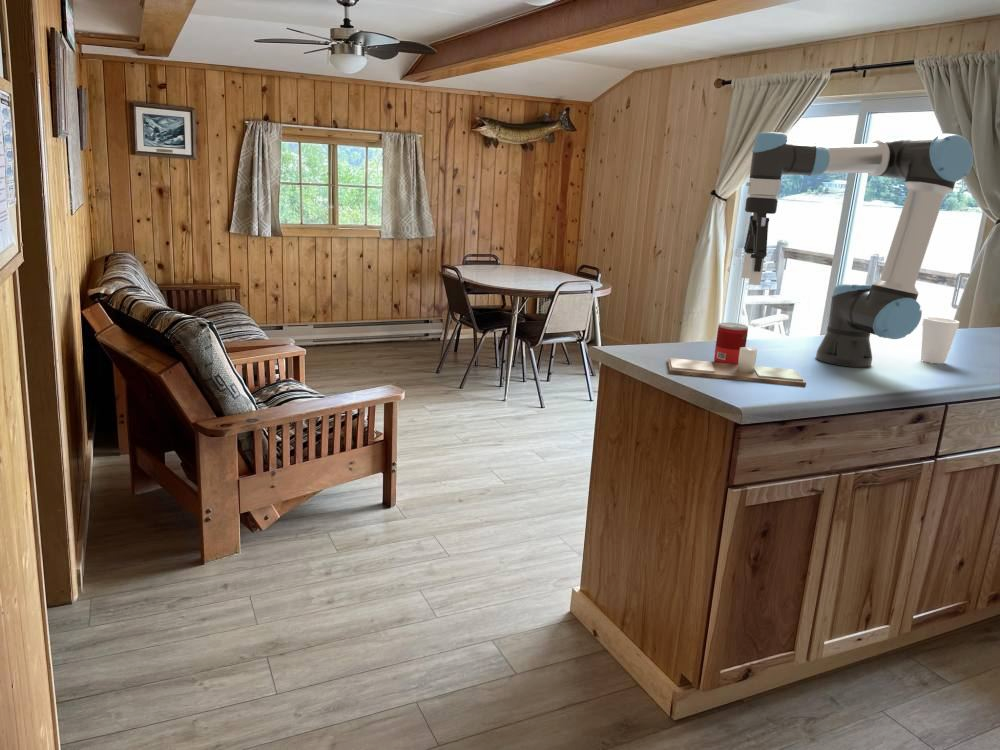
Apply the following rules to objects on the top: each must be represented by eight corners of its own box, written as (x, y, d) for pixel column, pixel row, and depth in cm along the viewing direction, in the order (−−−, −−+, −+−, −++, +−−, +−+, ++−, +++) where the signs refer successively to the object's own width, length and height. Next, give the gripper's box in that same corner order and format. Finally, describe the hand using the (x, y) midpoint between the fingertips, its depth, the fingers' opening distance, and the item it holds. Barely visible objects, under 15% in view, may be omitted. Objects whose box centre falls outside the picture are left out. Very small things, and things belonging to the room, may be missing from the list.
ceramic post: (752, 369, 200) (756, 347, 198) (755, 373, 196) (758, 351, 194) (735, 368, 201) (739, 346, 199) (738, 372, 196) (741, 349, 195)
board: (794, 373, 203) (795, 368, 203) (805, 386, 190) (806, 381, 189) (667, 361, 208) (668, 356, 208) (669, 373, 195) (670, 368, 195)
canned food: (744, 367, 206) (749, 328, 203) (714, 364, 207) (719, 326, 205) (741, 361, 213) (746, 324, 210) (712, 358, 215) (717, 321, 212)
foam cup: (948, 360, 230) (957, 319, 227) (952, 366, 222) (961, 324, 219) (914, 356, 234) (922, 315, 231) (916, 362, 226) (924, 320, 222)
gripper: (740, 195, 199) (729, 274, 205) (754, 196, 176) (741, 286, 181) (769, 197, 198) (758, 276, 204) (787, 198, 174) (774, 288, 180)
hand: (750, 281), depth 192 cm, fingers open, 13 cm apart
